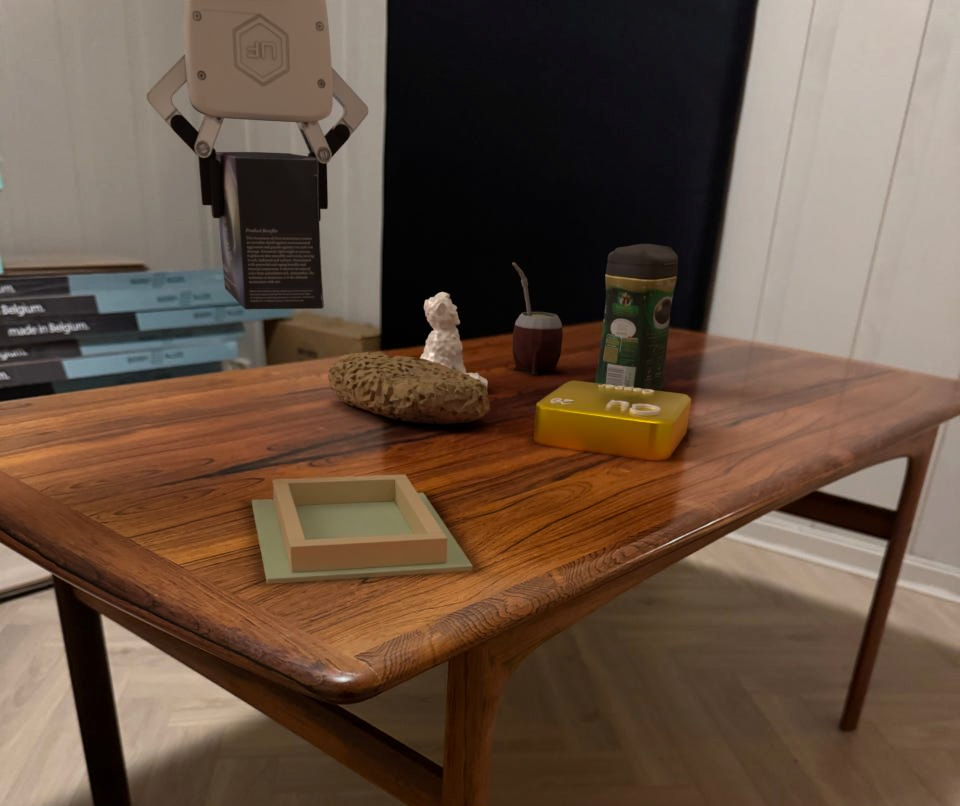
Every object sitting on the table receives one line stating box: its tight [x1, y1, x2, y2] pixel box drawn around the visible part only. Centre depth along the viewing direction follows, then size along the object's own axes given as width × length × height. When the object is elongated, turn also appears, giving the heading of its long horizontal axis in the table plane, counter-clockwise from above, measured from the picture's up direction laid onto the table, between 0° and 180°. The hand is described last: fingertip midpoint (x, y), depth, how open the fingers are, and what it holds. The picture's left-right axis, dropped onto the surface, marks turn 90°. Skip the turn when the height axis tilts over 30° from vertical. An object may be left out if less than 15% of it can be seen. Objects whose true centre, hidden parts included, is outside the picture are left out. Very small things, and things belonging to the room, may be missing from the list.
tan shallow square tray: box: [251, 474, 474, 585], centre depth 76 cm, size 15×17×3 cm
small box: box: [216, 151, 325, 311], centre depth 74 cm, size 11×6×10 cm, turn 22°
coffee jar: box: [594, 243, 679, 391], centre depth 123 cm, size 10×8×19 cm
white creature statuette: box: [419, 291, 489, 392], centre depth 122 cm, size 10×9×12 cm
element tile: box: [533, 380, 692, 462], centre depth 106 cm, size 15×15×5 cm
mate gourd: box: [511, 261, 564, 377], centre depth 133 cm, size 8×8×15 cm
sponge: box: [327, 351, 491, 426], centre depth 109 cm, size 13×8×20 cm
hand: (266, 216), depth 73 cm, fingers closed on small box, 6 cm apart
